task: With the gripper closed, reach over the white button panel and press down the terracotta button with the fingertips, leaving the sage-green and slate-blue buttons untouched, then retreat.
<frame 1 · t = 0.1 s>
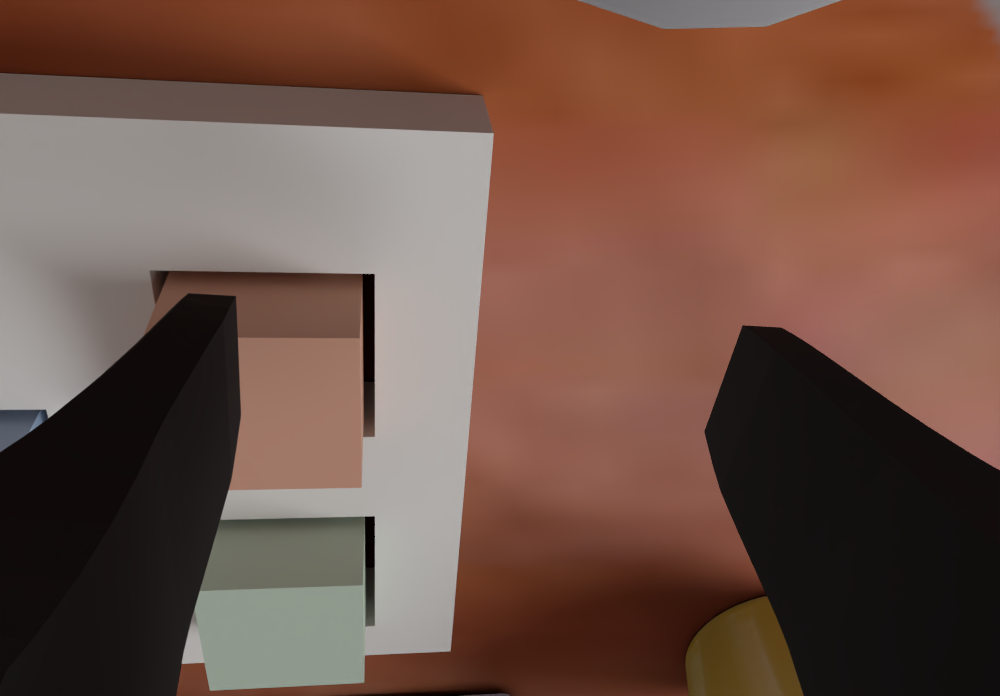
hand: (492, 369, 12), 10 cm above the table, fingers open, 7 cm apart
terracotta button: (268, 378, 20), point 3 cm above the table, slide at 0.0 cm
plant pot: (759, 640, 35), on the table
sage button: (288, 596, 25), point 3 cm above the table, slide at 0.0 cm
white button panel: (142, 396, 24), on the table
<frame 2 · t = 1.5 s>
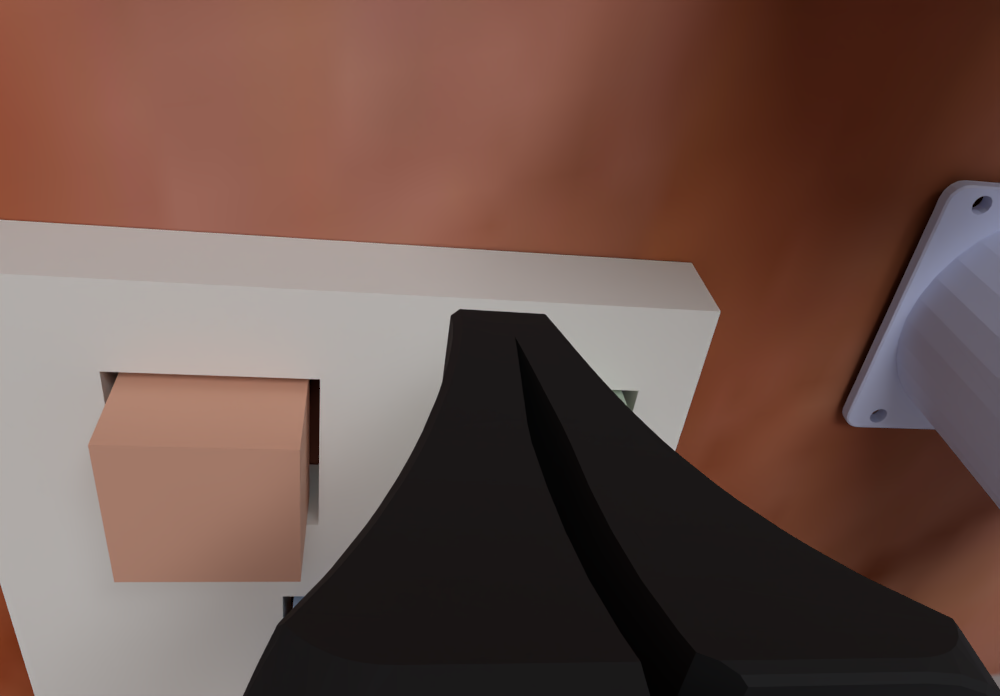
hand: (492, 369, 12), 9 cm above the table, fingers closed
terracotta button: (213, 473, 21), point 3 cm above the table, slide at 0.0 cm
sage button: (532, 479, 22), point 3 cm above the table, slide at 0.0 cm
slate button: (365, 667, 26), point 3 cm above the table, slide at 0.0 cm
white button panel: (339, 501, 26), on the table
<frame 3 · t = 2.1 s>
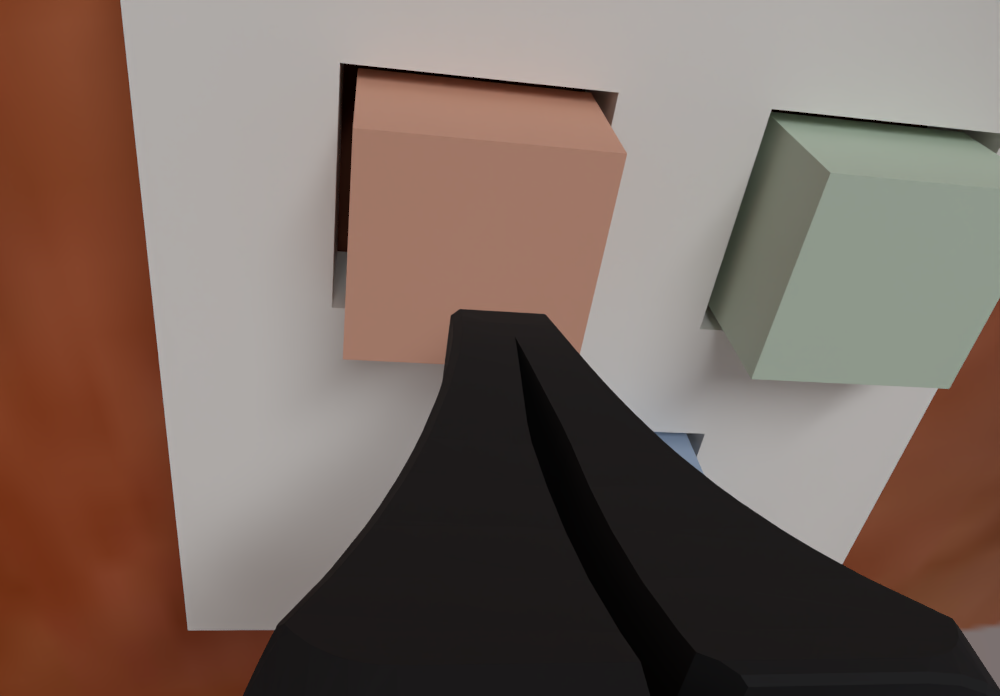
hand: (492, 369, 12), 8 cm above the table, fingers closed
terracotta button: (469, 223, 16), point 3 cm above the table, slide at 0.0 cm
sage button: (859, 253, 17), point 3 cm above the table, slide at 0.0 cm
slate button: (590, 525, 21), point 3 cm above the table, slide at 0.0 cm
white button panel: (559, 319, 21), on the table
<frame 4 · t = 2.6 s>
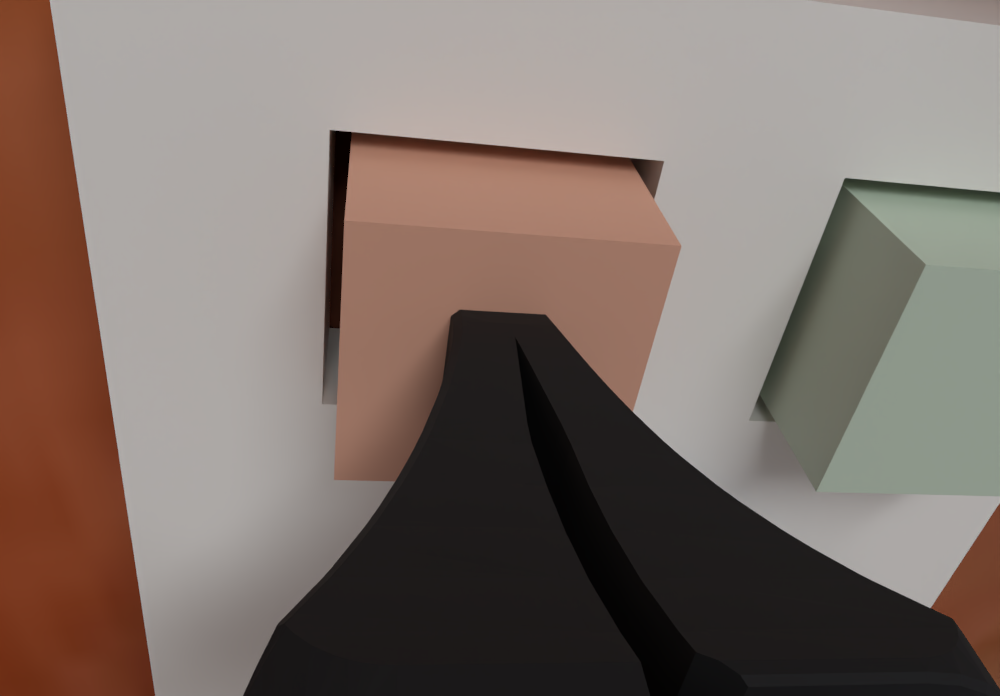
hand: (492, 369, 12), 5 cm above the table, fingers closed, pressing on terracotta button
terracotta button: (485, 314, 13), point 3 cm above the table, slide at 0.0 cm, touching gripper
sage button: (941, 341, 15), point 3 cm above the table, slide at 0.0 cm
white button panel: (583, 398, 19), on the table
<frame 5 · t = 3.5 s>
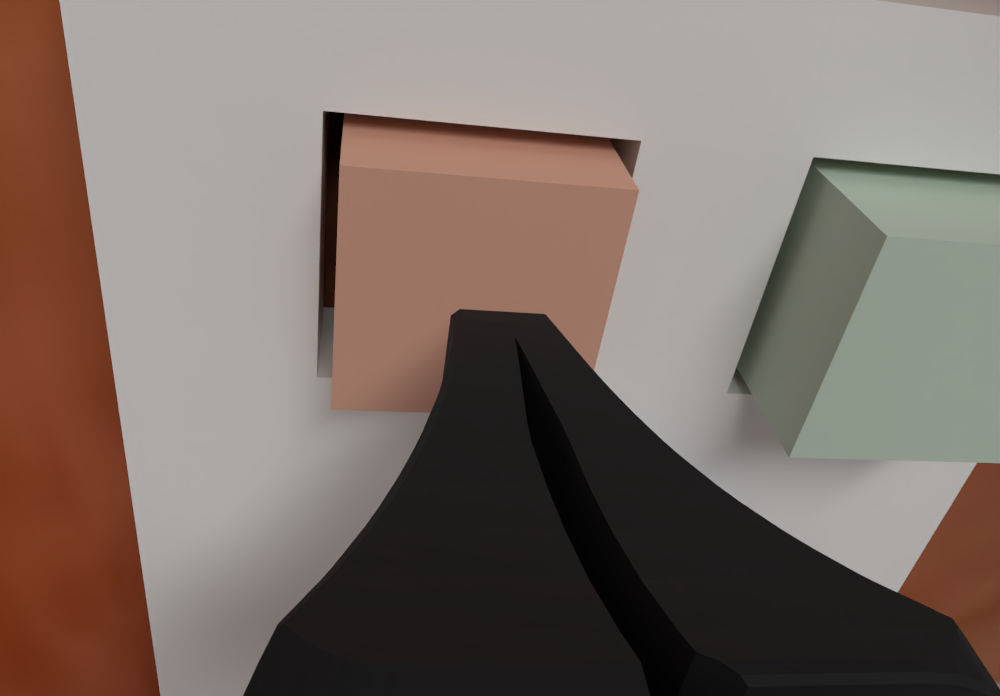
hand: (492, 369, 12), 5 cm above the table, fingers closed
terracotta button: (467, 260, 15), point 2 cm above the table, slide at 0.9 cm
sage button: (908, 314, 15), point 3 cm above the table, slide at 0.0 cm
white button panel: (569, 376, 19), on the table
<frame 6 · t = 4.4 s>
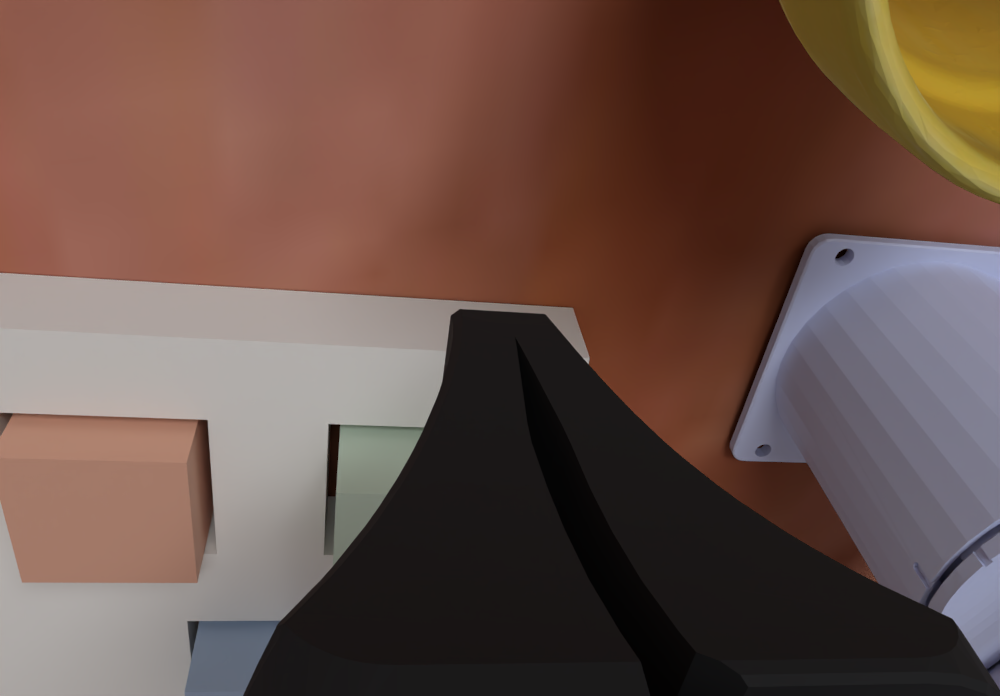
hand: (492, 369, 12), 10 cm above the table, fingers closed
terracotta button: (116, 483, 23), point 2 cm above the table, slide at 0.9 cm
sage button: (417, 513, 23), point 3 cm above the table, slide at 0.0 cm
slate button: (270, 688, 27), point 3 cm above the table, slide at 0.0 cm
white button panel: (247, 528, 27), on the table
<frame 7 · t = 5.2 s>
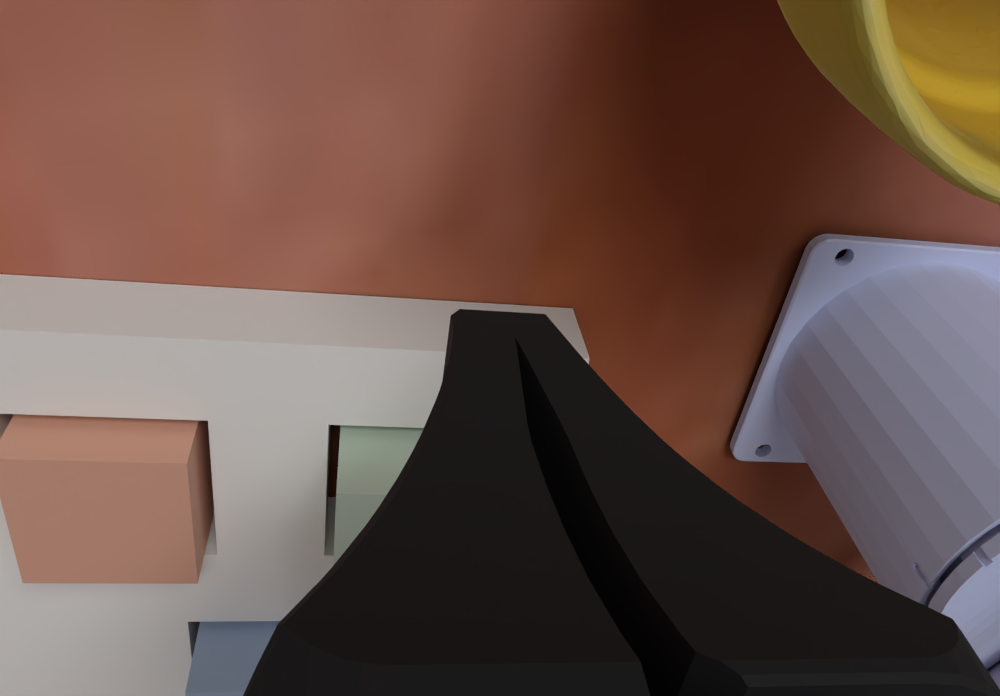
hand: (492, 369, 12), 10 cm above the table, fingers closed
terracotta button: (116, 483, 23), point 2 cm above the table, slide at 0.9 cm
sage button: (417, 514, 23), point 3 cm above the table, slide at 0.0 cm
slate button: (271, 689, 27), point 3 cm above the table, slide at 0.0 cm
white button panel: (247, 528, 27), on the table
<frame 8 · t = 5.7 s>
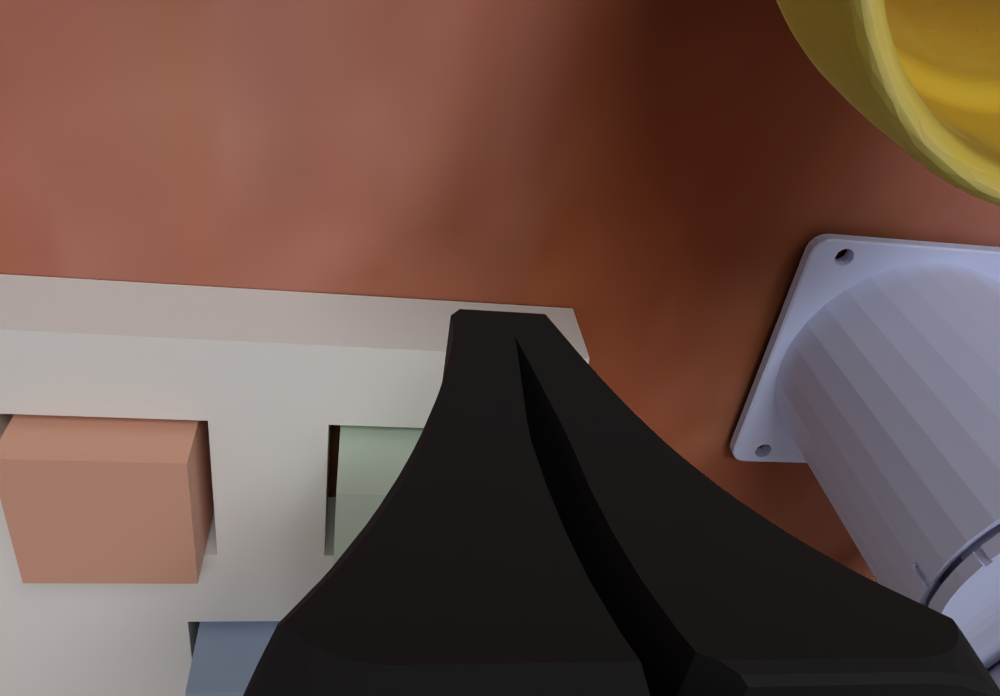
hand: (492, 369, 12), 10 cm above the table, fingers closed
terracotta button: (116, 483, 23), point 2 cm above the table, slide at 0.9 cm
sage button: (417, 514, 23), point 3 cm above the table, slide at 0.0 cm
slate button: (271, 689, 27), point 3 cm above the table, slide at 0.0 cm
white button panel: (247, 528, 27), on the table
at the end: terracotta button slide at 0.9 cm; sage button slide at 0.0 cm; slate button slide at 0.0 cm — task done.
